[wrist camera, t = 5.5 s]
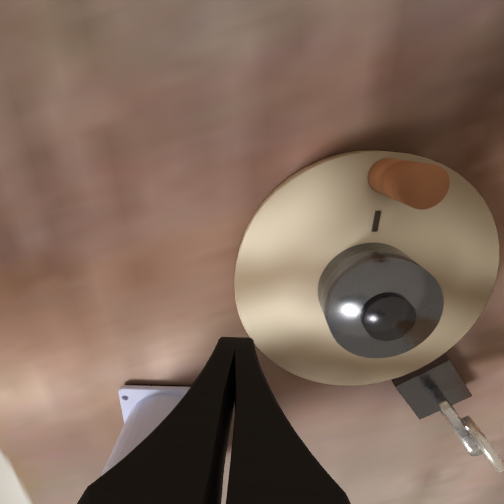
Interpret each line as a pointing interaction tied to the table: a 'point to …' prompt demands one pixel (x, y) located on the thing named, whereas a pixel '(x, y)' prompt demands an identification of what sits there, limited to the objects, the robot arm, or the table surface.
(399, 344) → the iron cover
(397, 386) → the grey and clear piece
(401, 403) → the table surface
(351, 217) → the turntable
